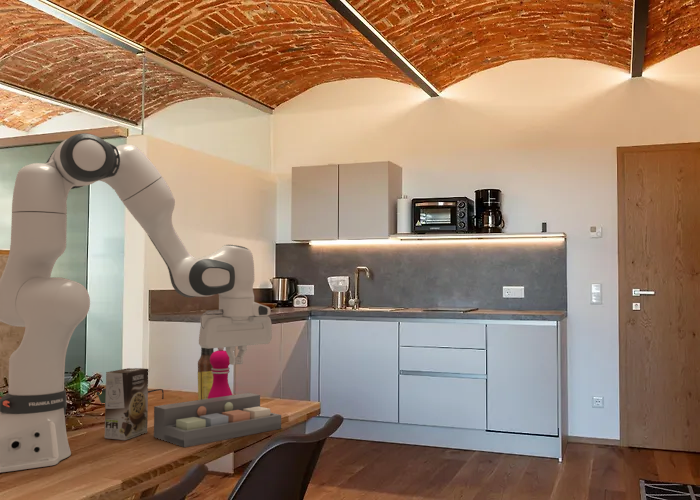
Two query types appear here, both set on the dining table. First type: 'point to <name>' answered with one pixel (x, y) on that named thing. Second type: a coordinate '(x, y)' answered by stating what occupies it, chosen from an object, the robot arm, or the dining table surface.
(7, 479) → the dining table surface
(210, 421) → the key slate
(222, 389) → the pepper mill
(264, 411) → the key cream
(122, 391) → the cookie box
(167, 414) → the keypad
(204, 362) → the sauce bottle
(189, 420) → the key sage
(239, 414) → the key terracotta
